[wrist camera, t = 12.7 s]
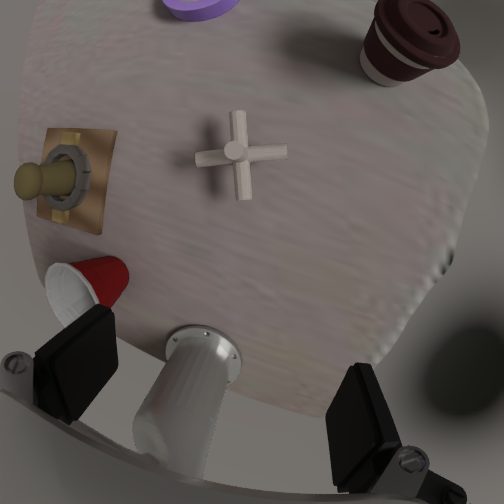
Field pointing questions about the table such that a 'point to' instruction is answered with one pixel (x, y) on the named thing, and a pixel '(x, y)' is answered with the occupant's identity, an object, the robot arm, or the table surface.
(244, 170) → the pipe connector
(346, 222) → the table surface
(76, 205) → the socket
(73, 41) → the table surface
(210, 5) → the masking tape
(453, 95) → the table surface
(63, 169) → the olive knobbed peg
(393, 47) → the coffee cup
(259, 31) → the table surface
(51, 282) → the plastic cup
